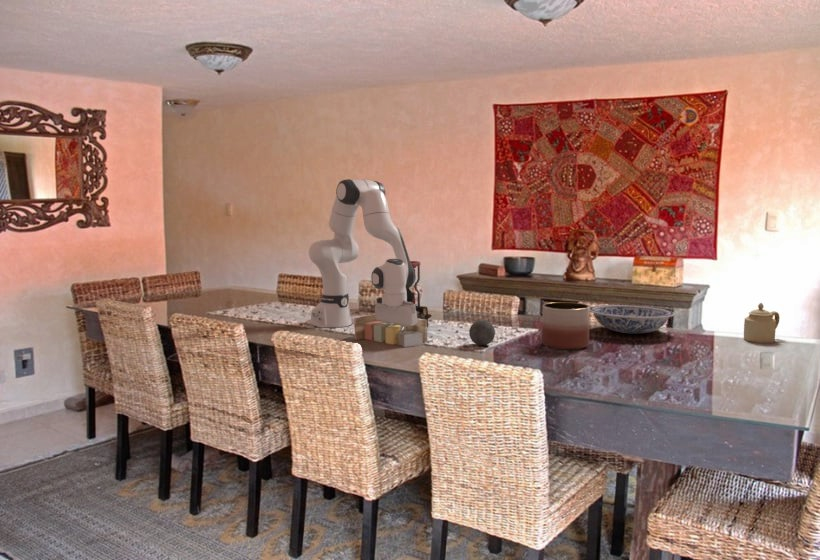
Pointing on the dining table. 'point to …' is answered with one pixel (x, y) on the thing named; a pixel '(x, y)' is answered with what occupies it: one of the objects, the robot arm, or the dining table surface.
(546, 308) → the planter
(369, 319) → the shelf corner
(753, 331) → the sugar bowl
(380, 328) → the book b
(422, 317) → the brown owl figurine
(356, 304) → the dining table surface
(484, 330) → the decorative ball
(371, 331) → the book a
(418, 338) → the block
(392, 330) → the book
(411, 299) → the hourglass
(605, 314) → the ceramic bowl
